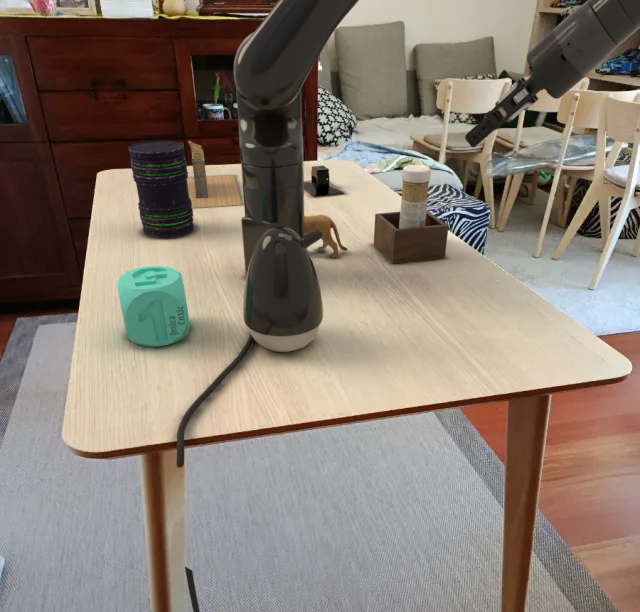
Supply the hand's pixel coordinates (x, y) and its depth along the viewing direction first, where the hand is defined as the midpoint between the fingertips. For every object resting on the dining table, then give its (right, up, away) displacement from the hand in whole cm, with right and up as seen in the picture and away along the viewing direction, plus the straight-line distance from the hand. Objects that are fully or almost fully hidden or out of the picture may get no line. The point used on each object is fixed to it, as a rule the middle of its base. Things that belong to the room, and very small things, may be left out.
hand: (475, 136), depth 93 cm
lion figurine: (-27, -14, +14) cm, 33 cm away
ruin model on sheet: (-51, +9, +46) cm, 69 cm away
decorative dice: (-46, -32, -10) cm, 57 cm away
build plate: (-24, +10, +47) cm, 54 cm away
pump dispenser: (-28, -33, -12) cm, 45 cm away
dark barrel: (-53, -7, +24) cm, 58 cm away
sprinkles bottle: (-8, -13, +14) cm, 21 cm away
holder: (-8, -13, +14) cm, 21 cm away
